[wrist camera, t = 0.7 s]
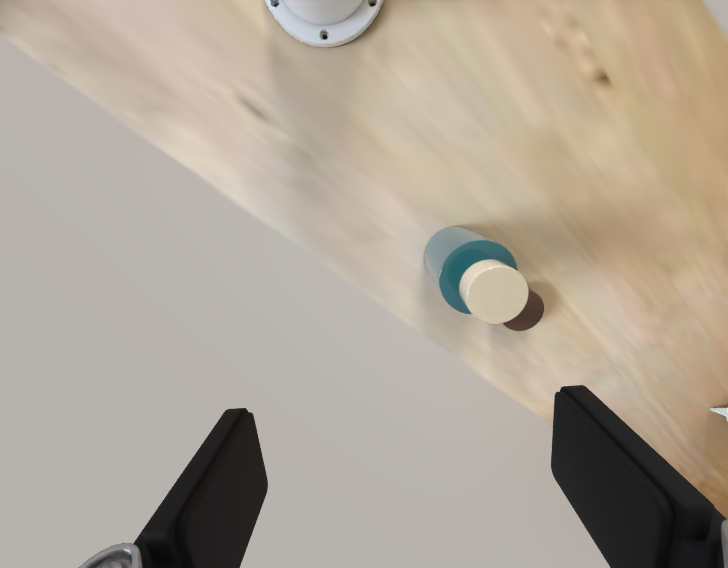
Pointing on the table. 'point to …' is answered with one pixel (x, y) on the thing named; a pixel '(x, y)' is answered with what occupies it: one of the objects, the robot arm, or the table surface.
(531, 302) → the brown round puck
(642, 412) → the table surface
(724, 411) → the flower
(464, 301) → the bottle
